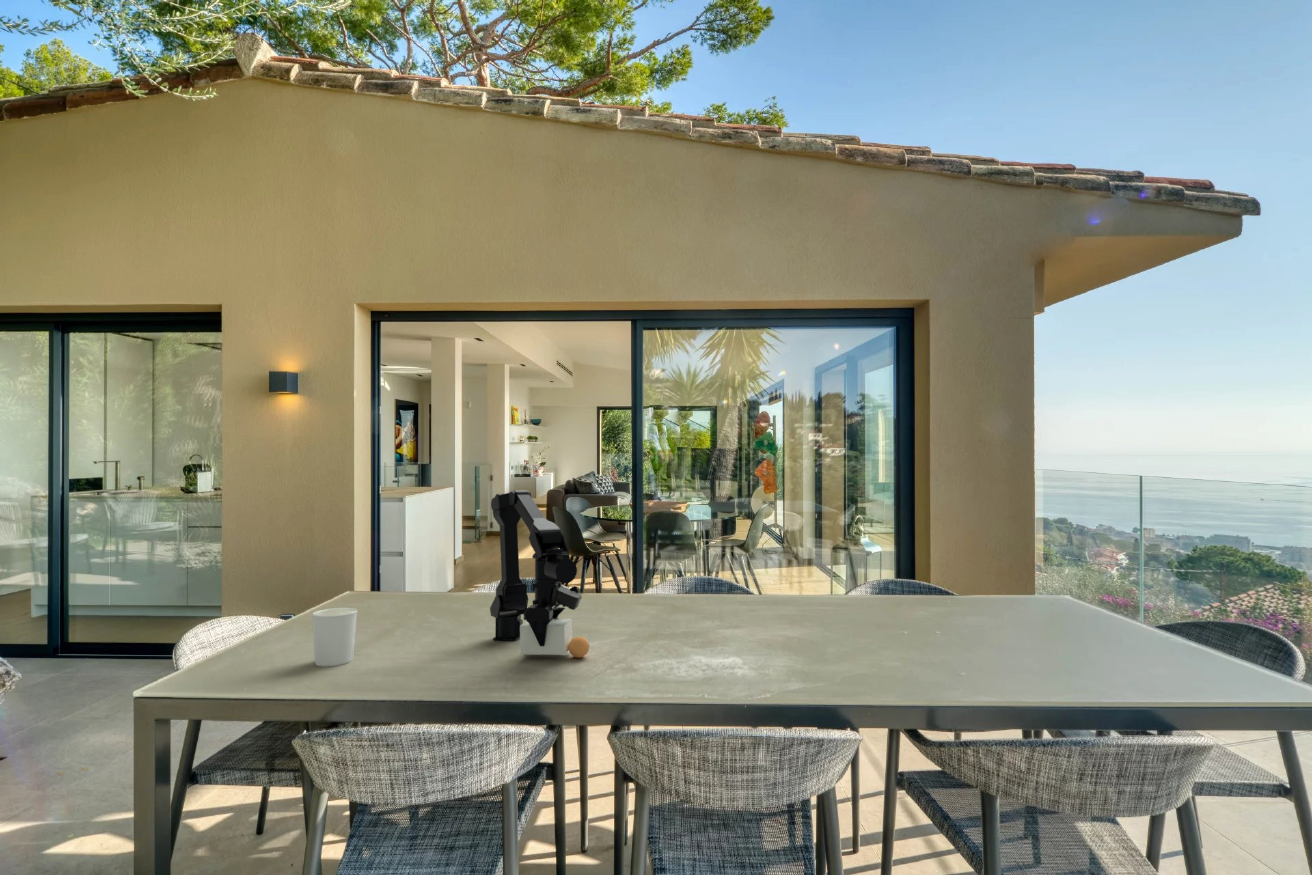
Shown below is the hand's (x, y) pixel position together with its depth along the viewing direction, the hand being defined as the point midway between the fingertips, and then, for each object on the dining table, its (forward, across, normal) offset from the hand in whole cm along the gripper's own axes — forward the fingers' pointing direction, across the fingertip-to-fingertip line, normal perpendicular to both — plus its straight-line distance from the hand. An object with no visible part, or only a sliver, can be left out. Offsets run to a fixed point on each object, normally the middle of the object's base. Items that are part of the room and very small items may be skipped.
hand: (546, 641), depth 160 cm
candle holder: (+4, -8, +50) cm, 51 cm away
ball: (+1, 0, -8) cm, 8 cm away
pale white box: (+2, 0, 0) cm, 2 cm away
